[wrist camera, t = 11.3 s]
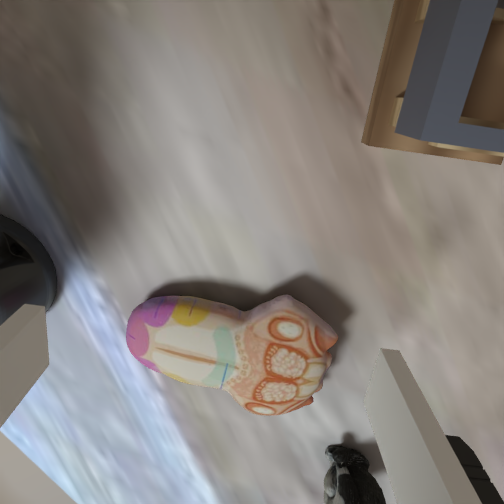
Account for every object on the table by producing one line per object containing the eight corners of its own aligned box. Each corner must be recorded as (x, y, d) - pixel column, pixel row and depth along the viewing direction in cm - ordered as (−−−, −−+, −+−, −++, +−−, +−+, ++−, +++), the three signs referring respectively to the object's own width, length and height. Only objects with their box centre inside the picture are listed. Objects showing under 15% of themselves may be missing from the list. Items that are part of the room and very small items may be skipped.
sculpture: (155, 388, 55) (334, 387, 52) (140, 428, 49) (340, 429, 47) (127, 286, 47) (336, 279, 45) (105, 319, 42) (343, 314, 39)
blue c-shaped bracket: (394, 132, 35) (420, 140, 29) (437, -28, 30) (477, -55, 25) (507, 149, 35) (553, 160, 30) (566, -6, 31) (634, -28, 25)
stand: (361, 142, 40) (374, 148, 35) (402, -33, 34) (424, -53, 30) (484, 159, 40) (513, 168, 36) (545, -10, 35) (589, -26, 30)
